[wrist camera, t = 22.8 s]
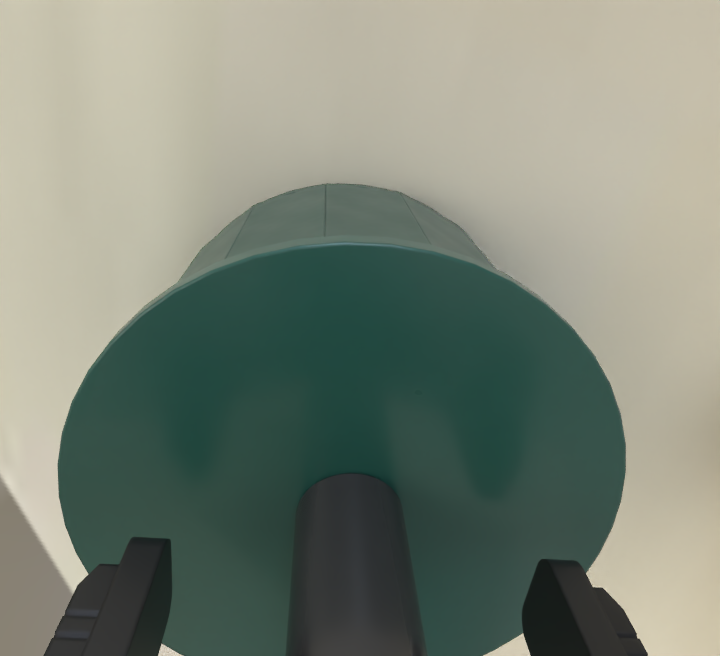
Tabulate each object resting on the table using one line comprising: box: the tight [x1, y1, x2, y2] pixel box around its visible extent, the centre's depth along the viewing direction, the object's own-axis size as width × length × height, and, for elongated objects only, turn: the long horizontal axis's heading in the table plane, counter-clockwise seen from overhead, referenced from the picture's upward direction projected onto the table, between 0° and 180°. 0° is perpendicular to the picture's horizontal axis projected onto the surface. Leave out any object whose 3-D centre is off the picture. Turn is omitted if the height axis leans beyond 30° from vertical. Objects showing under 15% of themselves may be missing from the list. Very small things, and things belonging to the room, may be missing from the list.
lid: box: [58, 235, 626, 656], centre depth 12 cm, size 14×14×6 cm
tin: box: [178, 183, 496, 282], centre depth 18 cm, size 13×13×8 cm
